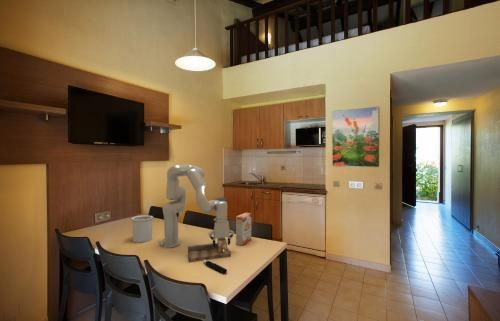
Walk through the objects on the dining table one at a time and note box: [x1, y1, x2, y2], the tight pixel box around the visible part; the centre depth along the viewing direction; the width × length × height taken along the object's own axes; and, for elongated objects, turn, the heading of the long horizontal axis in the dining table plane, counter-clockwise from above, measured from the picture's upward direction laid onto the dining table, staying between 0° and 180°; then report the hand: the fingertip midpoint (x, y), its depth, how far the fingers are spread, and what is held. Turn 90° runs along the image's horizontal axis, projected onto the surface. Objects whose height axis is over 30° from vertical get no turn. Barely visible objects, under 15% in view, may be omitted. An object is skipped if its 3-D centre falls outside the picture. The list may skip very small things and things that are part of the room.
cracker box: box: [235, 212, 252, 246], centre depth 175 cm, size 14×6×21 cm, turn 153°
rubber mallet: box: [211, 196, 228, 203], centre depth 198 cm, size 12×8×30 cm, turn 136°
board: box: [187, 241, 232, 263], centre depth 153 cm, size 26×14×5 cm, turn 107°
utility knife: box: [203, 260, 228, 274], centre depth 135 cm, size 22×4×3 cm, turn 47°
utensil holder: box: [131, 215, 154, 244], centre depth 184 cm, size 15×15×18 cm
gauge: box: [216, 237, 227, 253], centre depth 154 cm, size 5×11×7 cm, turn 17°
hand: (221, 245), depth 157 cm, fingers open, 9 cm apart
